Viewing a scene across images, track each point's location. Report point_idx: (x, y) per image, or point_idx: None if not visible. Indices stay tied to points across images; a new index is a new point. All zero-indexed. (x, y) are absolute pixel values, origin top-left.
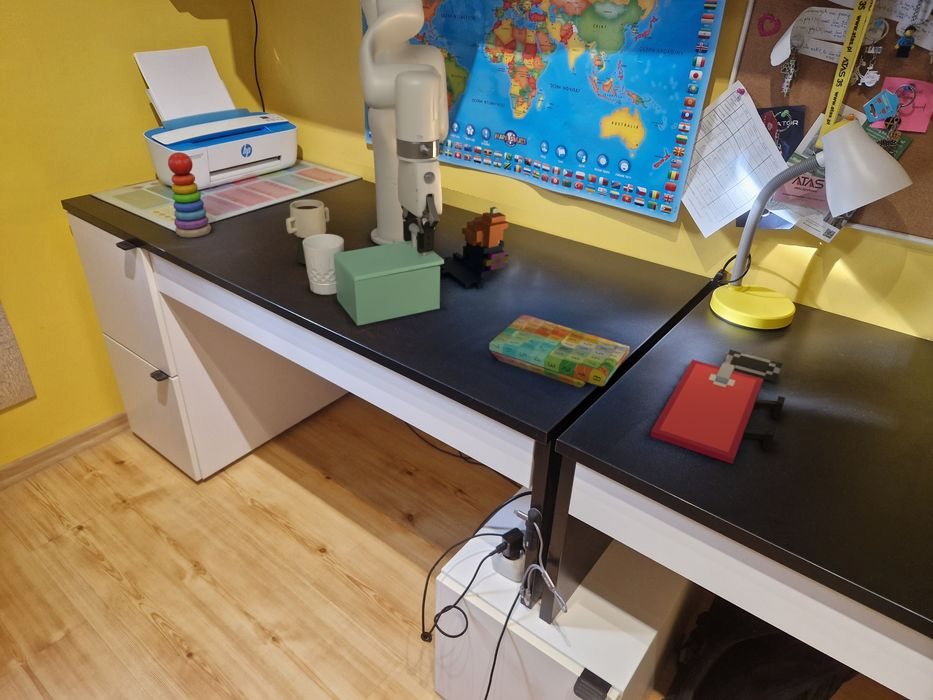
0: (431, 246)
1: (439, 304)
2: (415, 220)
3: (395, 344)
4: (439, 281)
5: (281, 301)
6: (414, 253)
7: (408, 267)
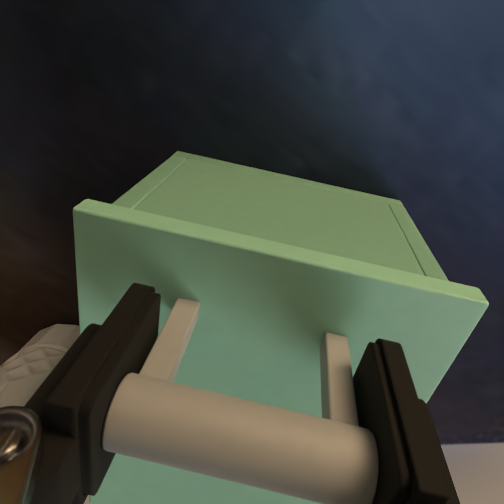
0: (425, 405)
1: (404, 208)
2: (80, 437)
3: (460, 408)
4: (431, 256)
5: None
6: (274, 358)
7: None
